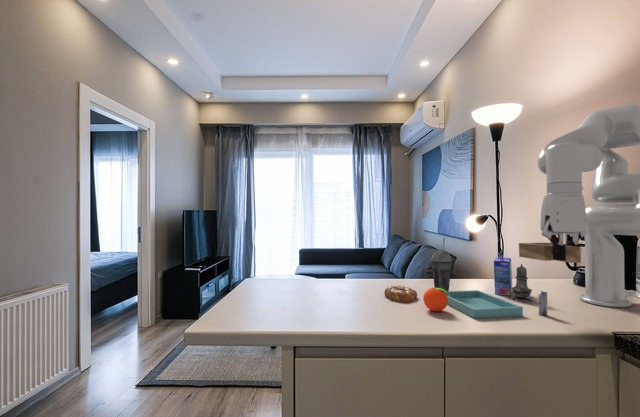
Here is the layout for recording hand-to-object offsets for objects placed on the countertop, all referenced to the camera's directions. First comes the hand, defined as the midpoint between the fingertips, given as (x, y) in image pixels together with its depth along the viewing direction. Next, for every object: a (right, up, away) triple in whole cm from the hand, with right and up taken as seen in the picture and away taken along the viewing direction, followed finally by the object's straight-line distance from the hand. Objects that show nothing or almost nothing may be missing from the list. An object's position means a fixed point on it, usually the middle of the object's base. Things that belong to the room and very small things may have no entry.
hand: (564, 259), depth 86 cm
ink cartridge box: (+2, -17, +33) cm, 37 cm away
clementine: (-30, -17, +10) cm, 36 cm away
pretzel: (-37, -18, +25) cm, 48 cm away
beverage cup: (-21, -17, +31) cm, 41 cm away
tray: (-16, -17, +15) cm, 28 cm away
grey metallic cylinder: (-1, -17, +7) cm, 18 cm away
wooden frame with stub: (-1, -1, +4) cm, 4 cm away
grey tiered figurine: (+3, -17, +23) cm, 28 cm away
